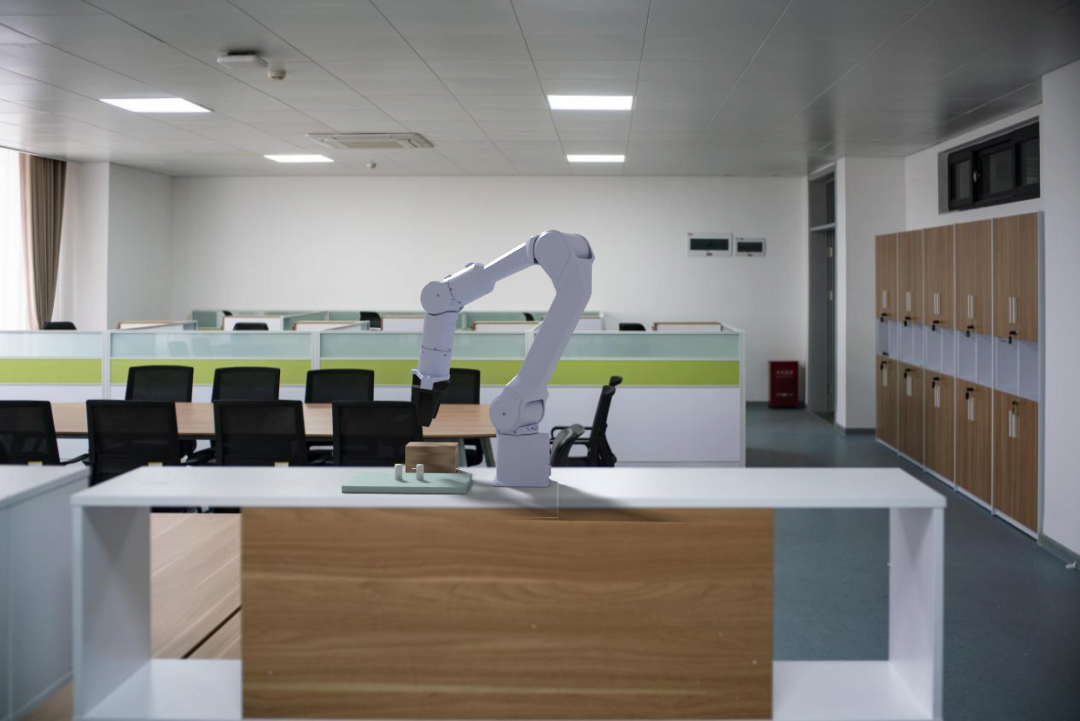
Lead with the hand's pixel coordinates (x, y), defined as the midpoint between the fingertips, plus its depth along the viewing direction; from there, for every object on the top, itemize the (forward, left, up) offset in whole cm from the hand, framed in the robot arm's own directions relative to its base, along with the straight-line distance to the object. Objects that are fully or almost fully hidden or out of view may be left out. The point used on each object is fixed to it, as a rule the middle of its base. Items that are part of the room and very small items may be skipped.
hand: (426, 421), depth 162 cm
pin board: (+1, +12, -9) cm, 16 cm away
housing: (-1, -1, -9) cm, 9 cm away
